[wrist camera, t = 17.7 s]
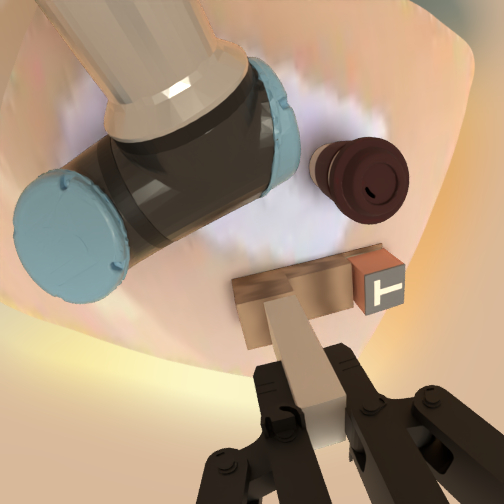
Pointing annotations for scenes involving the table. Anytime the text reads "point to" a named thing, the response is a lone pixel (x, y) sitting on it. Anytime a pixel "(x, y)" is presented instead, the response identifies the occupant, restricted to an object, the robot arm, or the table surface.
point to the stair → (295, 292)
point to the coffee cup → (362, 177)
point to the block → (377, 281)
